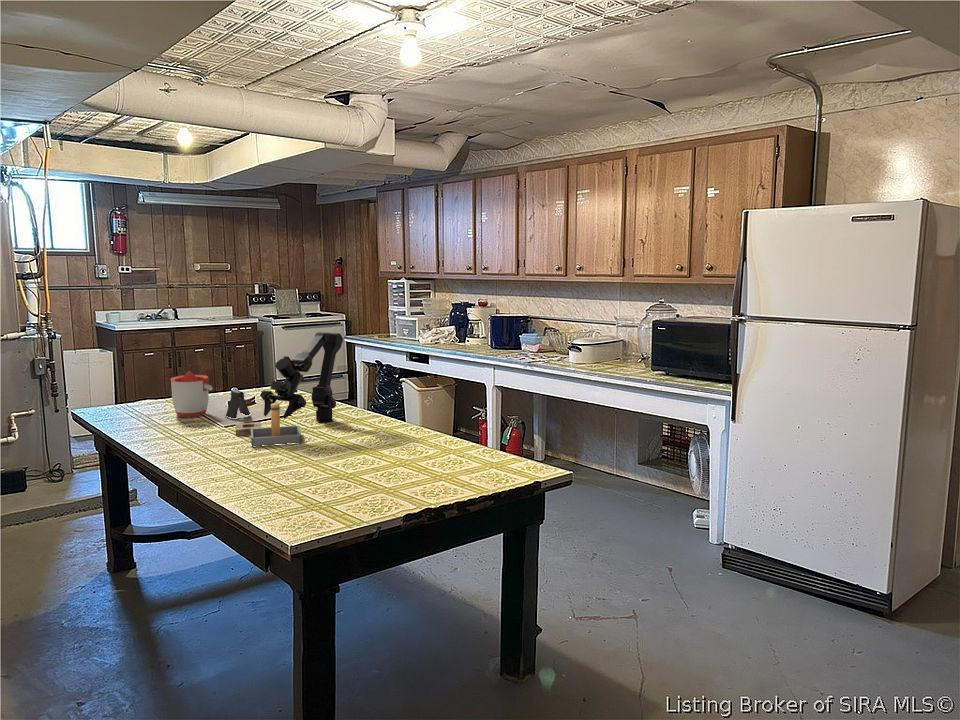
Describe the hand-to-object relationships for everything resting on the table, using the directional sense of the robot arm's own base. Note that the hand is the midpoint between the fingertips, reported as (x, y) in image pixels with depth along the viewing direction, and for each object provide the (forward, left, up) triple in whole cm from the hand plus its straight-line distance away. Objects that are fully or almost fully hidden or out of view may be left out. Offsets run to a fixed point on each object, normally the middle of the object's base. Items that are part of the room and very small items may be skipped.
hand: (274, 416), depth 270 cm
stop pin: (0, 0, -9) cm, 9 cm away
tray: (0, 0, -10) cm, 10 cm away
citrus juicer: (+33, -51, -10) cm, 62 cm away
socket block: (+10, -16, -10) cm, 21 cm away
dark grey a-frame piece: (+14, -42, -10) cm, 46 cm away
